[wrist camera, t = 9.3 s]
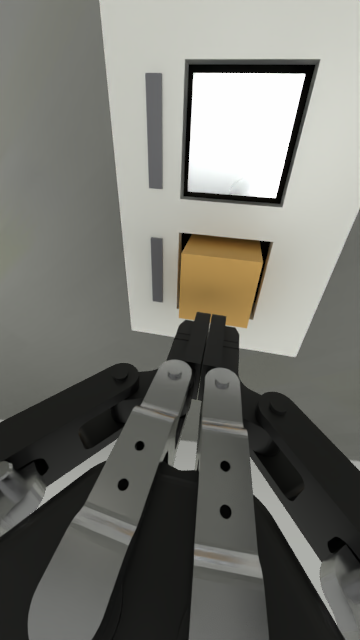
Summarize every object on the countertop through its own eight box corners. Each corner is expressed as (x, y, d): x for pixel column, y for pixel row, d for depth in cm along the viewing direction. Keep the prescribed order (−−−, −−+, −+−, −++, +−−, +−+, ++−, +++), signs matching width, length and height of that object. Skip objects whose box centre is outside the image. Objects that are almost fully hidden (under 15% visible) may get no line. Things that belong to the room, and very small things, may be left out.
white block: (205, 89, 15) (193, 72, 11) (290, 90, 14) (305, 73, 11) (199, 181, 18) (187, 191, 14) (269, 185, 17) (275, 198, 13)
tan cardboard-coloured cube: (193, 231, 19) (181, 253, 15) (259, 238, 18) (263, 262, 14) (189, 288, 21) (178, 318, 18) (246, 296, 21) (246, 328, 17)
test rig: (141, 15, 15) (92, -46, 10) (394, 7, 13) (482, -71, 8) (151, 296, 27) (130, 331, 22) (285, 315, 25) (296, 358, 20)
